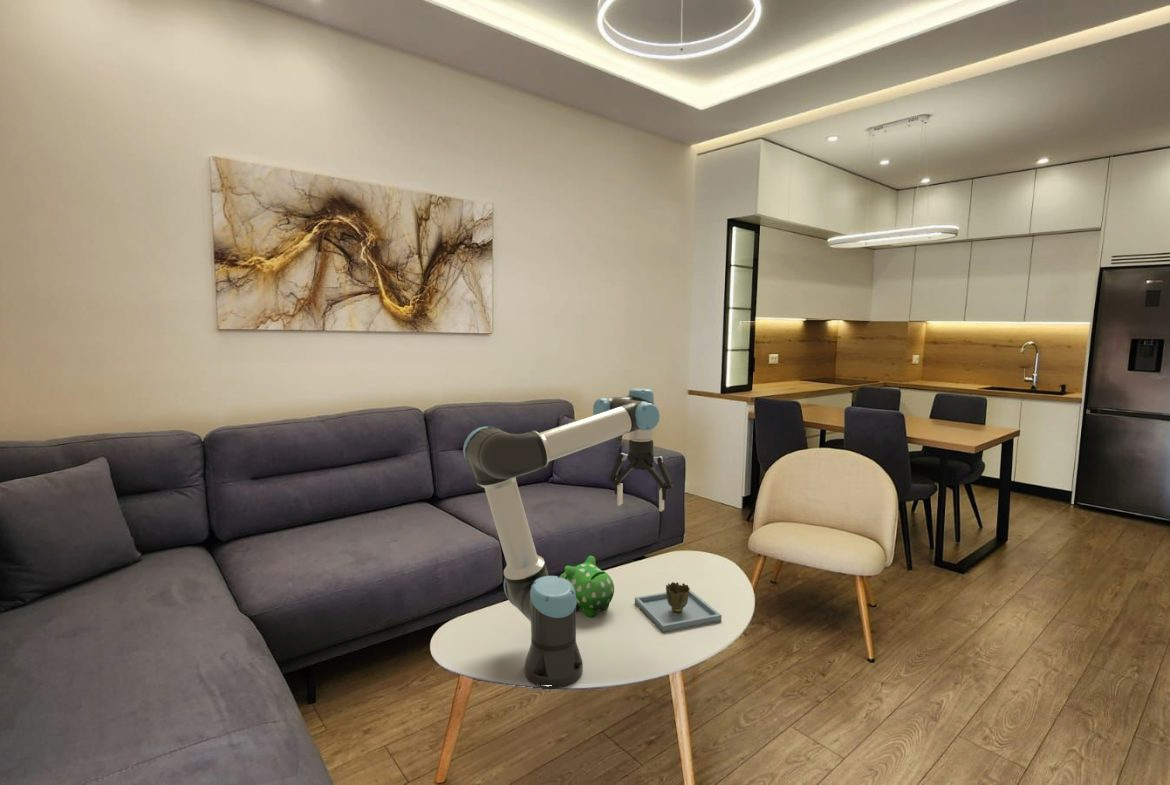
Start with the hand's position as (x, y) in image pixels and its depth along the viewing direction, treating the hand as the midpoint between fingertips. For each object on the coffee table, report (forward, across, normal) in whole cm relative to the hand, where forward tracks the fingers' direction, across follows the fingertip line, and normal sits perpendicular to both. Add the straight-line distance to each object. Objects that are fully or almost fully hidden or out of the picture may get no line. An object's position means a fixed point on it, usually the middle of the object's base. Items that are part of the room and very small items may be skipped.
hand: (640, 507), depth 177 cm
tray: (+35, -10, -7) cm, 37 cm away
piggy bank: (+35, +17, +3) cm, 39 cm away
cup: (+34, -10, -7) cm, 36 cm away
